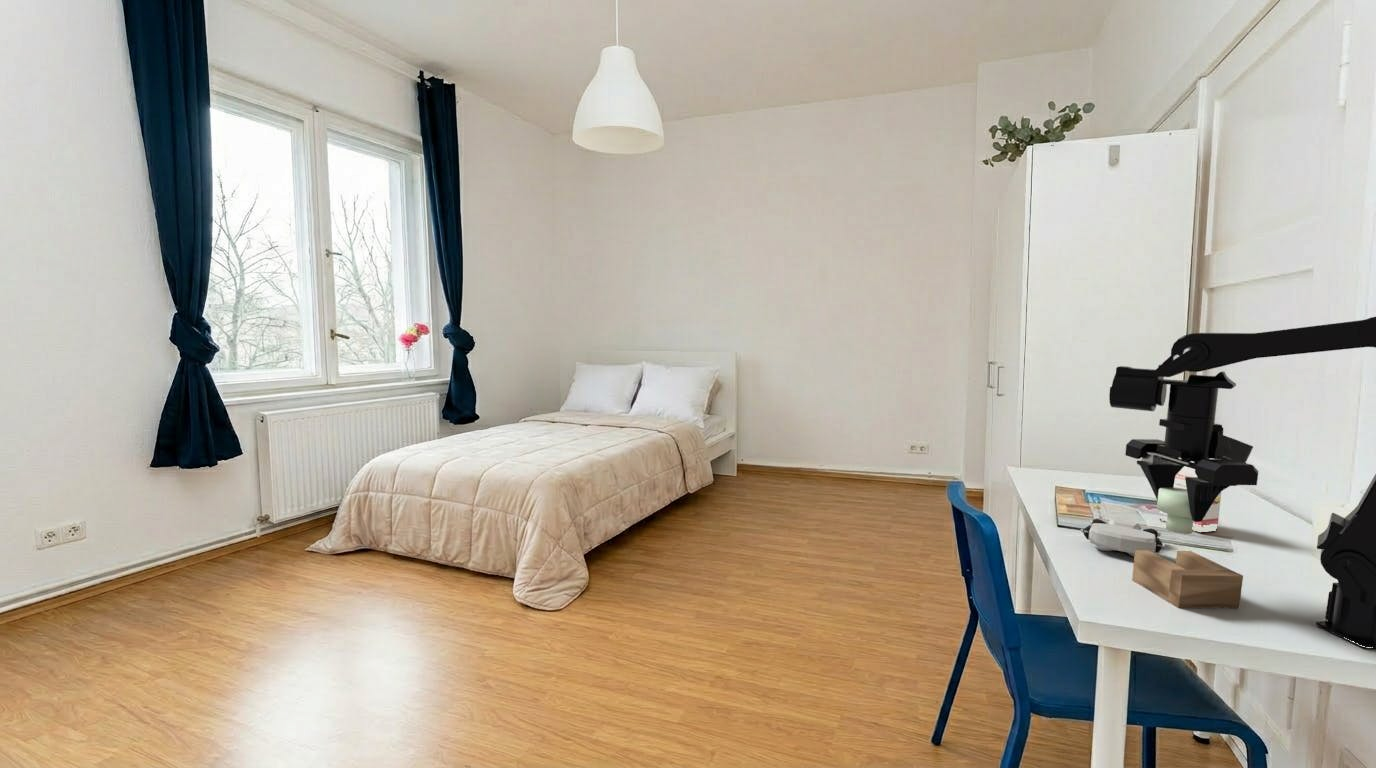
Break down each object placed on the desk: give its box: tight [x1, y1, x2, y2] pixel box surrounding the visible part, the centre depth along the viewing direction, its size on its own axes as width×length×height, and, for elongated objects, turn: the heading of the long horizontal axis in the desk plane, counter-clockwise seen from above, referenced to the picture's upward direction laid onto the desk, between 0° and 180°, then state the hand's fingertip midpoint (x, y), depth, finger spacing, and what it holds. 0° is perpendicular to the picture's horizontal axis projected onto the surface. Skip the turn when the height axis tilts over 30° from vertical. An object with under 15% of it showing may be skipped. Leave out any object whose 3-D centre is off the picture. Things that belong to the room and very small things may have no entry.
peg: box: [1156, 487, 1206, 535], centre depth 98 cm, size 6×6×6 cm
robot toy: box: [1080, 518, 1166, 557], centre depth 116 cm, size 12×4×15 cm
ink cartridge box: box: [1159, 458, 1222, 526], centre depth 128 cm, size 9×5×15 cm, turn 17°
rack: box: [1131, 550, 1244, 609], centre depth 97 cm, size 10×9×5 cm
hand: (1180, 514), depth 98 cm, fingers closed on peg, 6 cm apart
